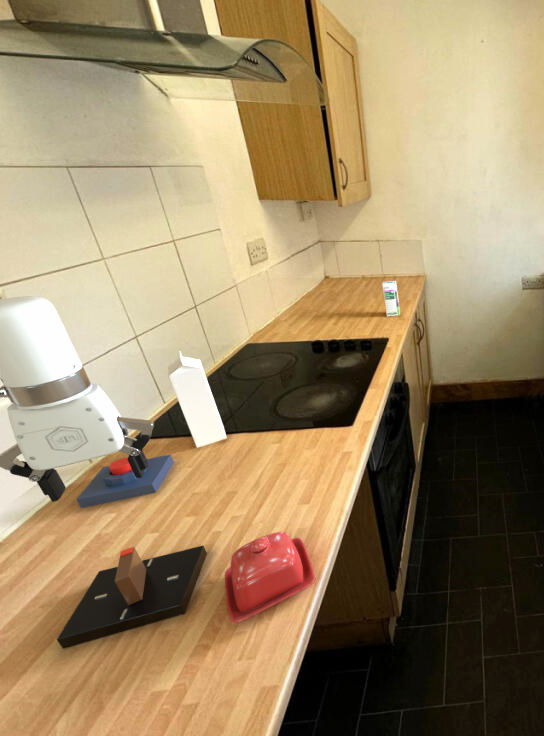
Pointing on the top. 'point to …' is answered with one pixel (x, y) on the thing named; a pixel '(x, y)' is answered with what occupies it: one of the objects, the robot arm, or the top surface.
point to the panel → (160, 601)
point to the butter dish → (266, 574)
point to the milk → (196, 400)
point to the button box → (125, 483)
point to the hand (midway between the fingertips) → (102, 483)
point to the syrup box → (391, 298)
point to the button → (120, 466)
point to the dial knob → (130, 576)
